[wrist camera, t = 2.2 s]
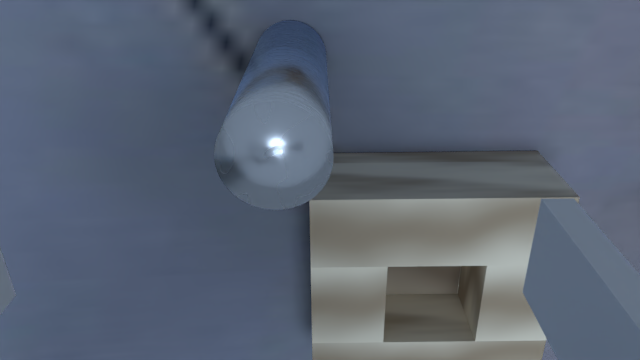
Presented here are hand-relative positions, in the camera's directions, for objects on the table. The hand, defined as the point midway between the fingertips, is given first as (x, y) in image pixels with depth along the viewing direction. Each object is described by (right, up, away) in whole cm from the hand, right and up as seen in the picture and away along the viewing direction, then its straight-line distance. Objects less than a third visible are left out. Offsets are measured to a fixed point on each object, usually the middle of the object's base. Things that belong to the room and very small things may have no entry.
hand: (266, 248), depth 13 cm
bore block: (+8, -3, +23) cm, 25 cm away
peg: (0, +9, +18) cm, 20 cm away
